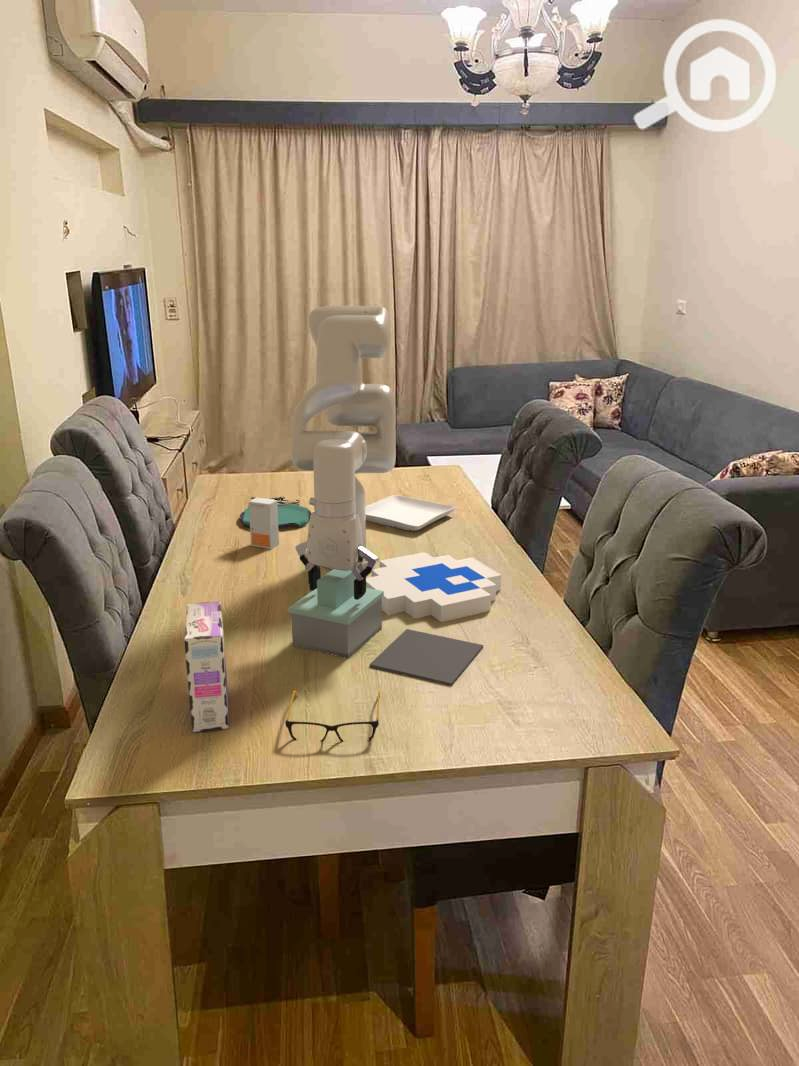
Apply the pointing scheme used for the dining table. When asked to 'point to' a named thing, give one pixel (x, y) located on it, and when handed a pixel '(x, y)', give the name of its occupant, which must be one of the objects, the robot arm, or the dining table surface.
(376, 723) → the eyeglasses
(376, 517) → the salad plate
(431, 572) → the pixel art tile
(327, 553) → the robot arm
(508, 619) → the dining table surface
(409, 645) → the mat
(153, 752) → the dining table surface
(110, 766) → the dining table surface
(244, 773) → the dining table surface
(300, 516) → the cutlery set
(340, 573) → the lid
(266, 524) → the skincare box
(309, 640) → the storage box
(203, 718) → the candy box
